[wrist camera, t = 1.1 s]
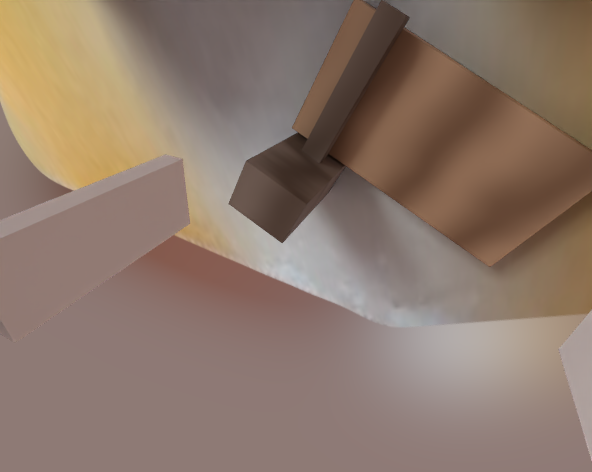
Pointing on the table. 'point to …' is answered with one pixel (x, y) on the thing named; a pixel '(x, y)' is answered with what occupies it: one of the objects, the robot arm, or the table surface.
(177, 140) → the table surface
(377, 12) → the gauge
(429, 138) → the board
